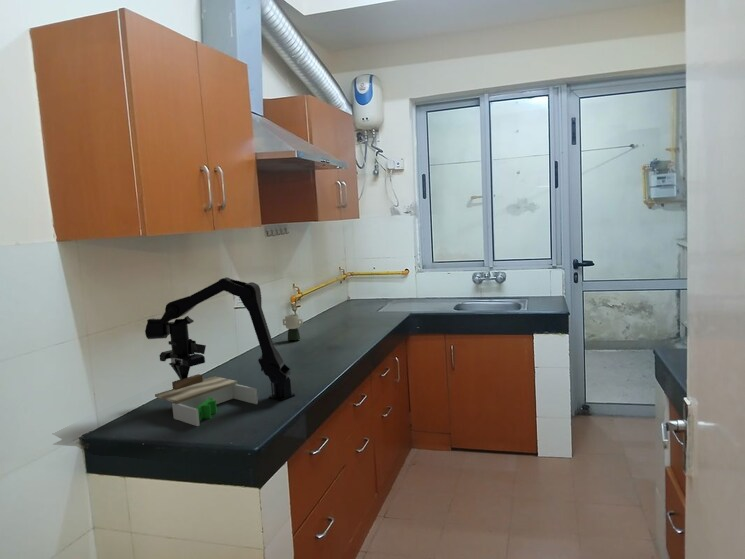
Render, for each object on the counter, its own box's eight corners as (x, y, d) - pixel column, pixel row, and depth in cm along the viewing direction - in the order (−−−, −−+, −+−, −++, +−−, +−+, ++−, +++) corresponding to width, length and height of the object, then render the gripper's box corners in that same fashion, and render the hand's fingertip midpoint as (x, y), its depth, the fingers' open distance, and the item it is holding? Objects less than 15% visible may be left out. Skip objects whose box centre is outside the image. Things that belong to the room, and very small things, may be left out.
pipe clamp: (206, 422, 161) (205, 408, 160) (195, 422, 161) (194, 408, 161) (220, 409, 171) (219, 396, 171) (210, 410, 172) (209, 397, 171)
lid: (237, 383, 180) (236, 374, 180) (176, 403, 163) (175, 393, 163) (215, 378, 188) (214, 369, 188) (155, 396, 171) (154, 387, 171)
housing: (257, 403, 175) (256, 388, 174) (197, 426, 157) (195, 409, 157) (233, 397, 183) (232, 383, 182) (173, 418, 165) (172, 402, 165)
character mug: (306, 339, 271) (304, 314, 270) (301, 342, 264) (299, 316, 263) (287, 339, 274) (285, 314, 273) (281, 342, 267) (279, 316, 266)
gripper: (216, 334, 179) (221, 380, 181) (185, 330, 191) (190, 373, 193) (186, 341, 171) (191, 389, 172) (156, 336, 182) (161, 381, 184)
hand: (184, 382), depth 180 cm, fingers closed
